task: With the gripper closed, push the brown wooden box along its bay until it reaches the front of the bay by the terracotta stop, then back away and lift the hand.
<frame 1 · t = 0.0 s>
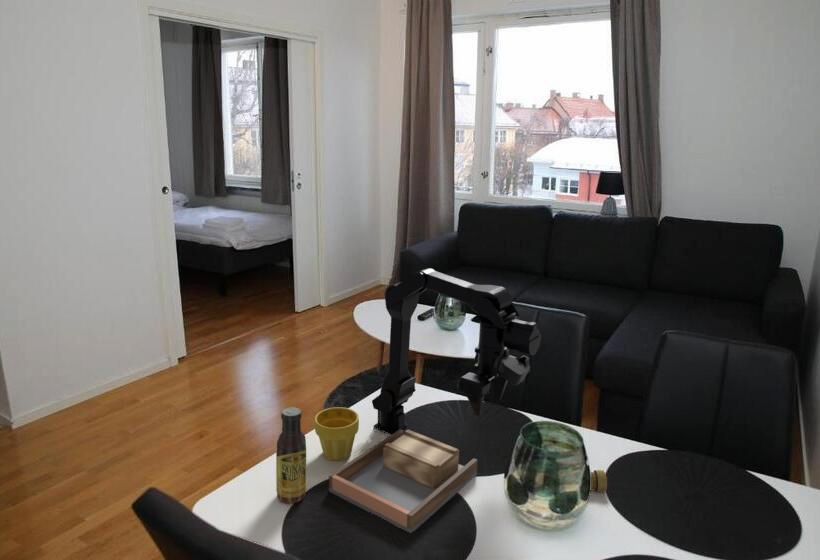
hand: (488, 407, 135), 15 cm above the table, tool pointing down, fingers open, 9 cm apart
bay: (404, 483, 131), on the table
brown wooden box: (420, 456, 135), point 4 cm above the table, slide at 0.0 cm
gavel: (572, 469, 139), on the table
sauce bottle: (292, 497, 126), on the table
plant pot: (337, 454, 142), on the table
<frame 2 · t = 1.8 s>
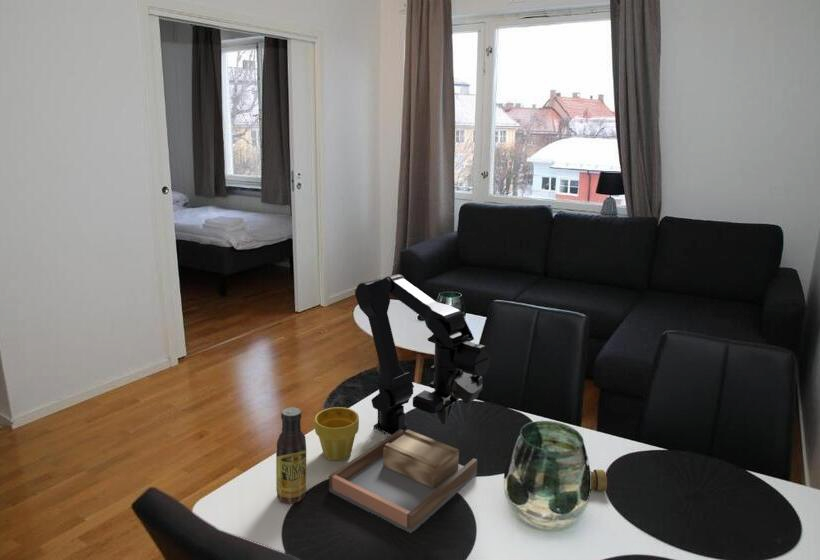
hand: (444, 423, 141), 8 cm above the table, tool pointing down, fingers closed
nothing on the table moved.
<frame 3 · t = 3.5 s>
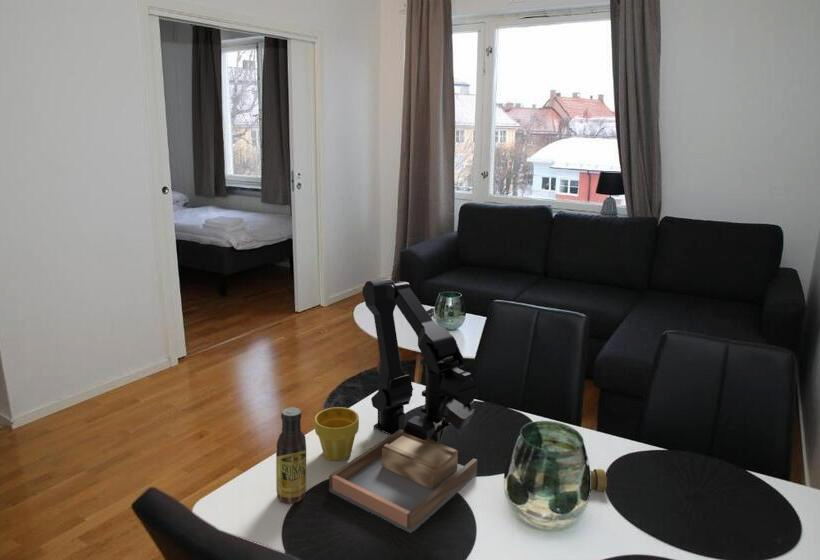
hand: (436, 448, 140), 3 cm above the table, tool pointing down, fingers closed
brown wooden box: (419, 457, 134), point 4 cm above the table, slide at 0.5 cm, touching gripper
everything else where it was.
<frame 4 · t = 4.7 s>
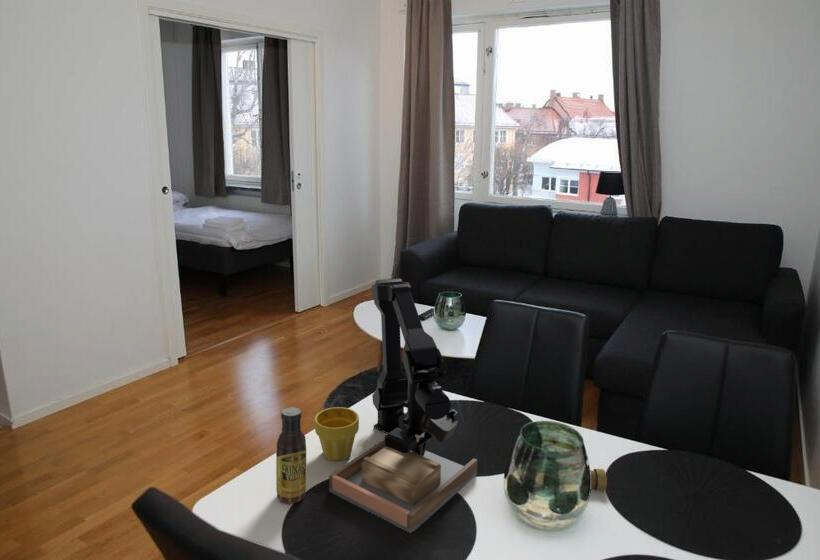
hand: (419, 460, 134), 3 cm above the table, tool pointing down, fingers closed
brown wooden box: (401, 471, 129), point 4 cm above the table, slide at 7.4 cm, touching gripper
everything else where it was.
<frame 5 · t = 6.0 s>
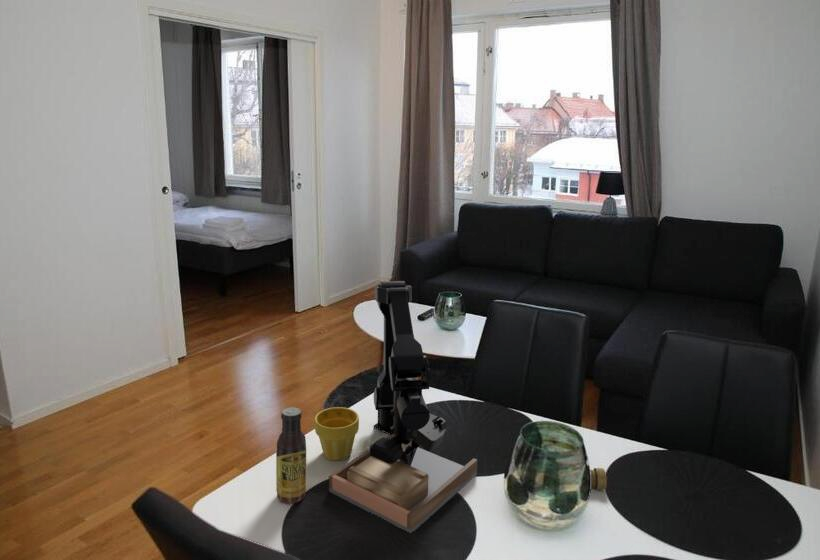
hand: (406, 470, 131), 3 cm above the table, tool pointing down, fingers closed
brown wooden box: (387, 481, 125), point 4 cm above the table, slide at 12.1 cm, touching gripper
everything else where it was.
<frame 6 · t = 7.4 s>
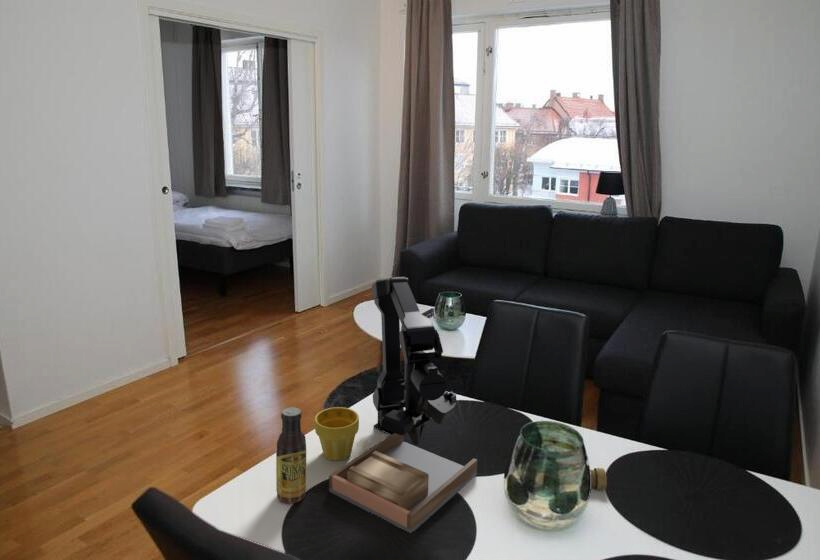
hand: (416, 444, 132), 8 cm above the table, tool pointing down, fingers closed
brown wooden box: (387, 481, 125), point 4 cm above the table, slide at 12.0 cm
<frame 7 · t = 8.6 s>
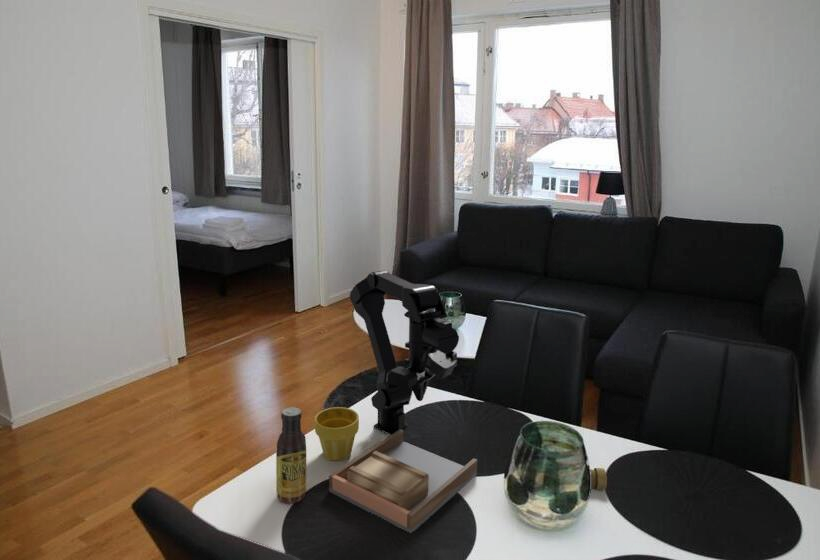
hand: (419, 400, 142), 13 cm above the table, tool pointing down, fingers closed
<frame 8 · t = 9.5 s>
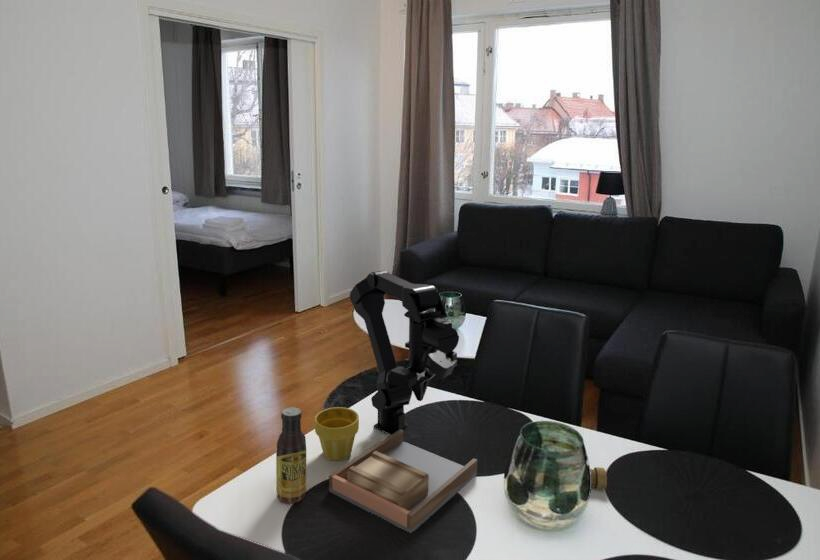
hand: (419, 400, 142), 13 cm above the table, tool pointing down, fingers closed
at the end: brown wooden box slide at 12.0 cm; the gripper is holding nothing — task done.
